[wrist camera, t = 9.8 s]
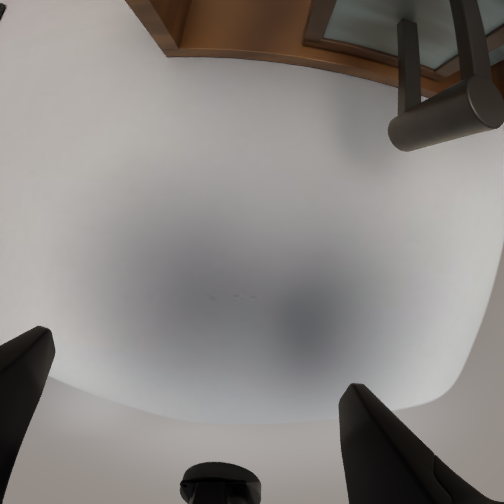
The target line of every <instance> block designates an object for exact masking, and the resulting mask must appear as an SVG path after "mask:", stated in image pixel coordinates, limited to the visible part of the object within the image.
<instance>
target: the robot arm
mask: <svg viewBox="0 0 504 504" xmlns="http://www.w3.org/2000/svg"><path fill="white" fill-rule="evenodd" d="M54 356H55V346H54V341H53V337H52V332H51V330H50V329H48V328H45V327H42V326H37V327H35V328H33V329H31V330H29V331H27V332H25V333H23V334H21V335H19V336H18V337H16V338H14V339H12V340H10V341H8V342H6V343H4V344H3V345H1V346H0V504H2V502H3V501H2V500H3V498H4V495H5V491H6V488H7V485H8V481H9V478H10V475H11V472H12V469H13V466H14V463H15V460H16V457H17V455H18V452H19V449H20V446H21V444H22V441H23V438H24V436H25V433H26V431H27V428H28V426H29V423H30V421H31V418H32V416H33V413H34V411H35V409H36V407H37V404H38V402H39V399H40V397H41V395H42V391H43V388H44V386H45V383H46V380H47V377H48V374H49V371H50V368H51V365H52V362H53V359H54ZM339 422H340V442H341V452H342V458H343V465H344V471H345V478H346V484H347V491H348V498H349V504H504V502H498V501H494V500H491V499H489V498H487V497H485V496H484V495H483V494H481V493H480V492H479V491H477V490H476V489H475V488H473V487H472V486H471V485H470V484H468V483H467V482H466V481H464V480H463V479H462V478H461V477H460V476H458V475H457V474H456V473H455V472H453V471H452V470H451V469H450V468H449V467H448V466H447V465H445V464H444V463H443V462H442V461H441V460H440V459H439V458H438V457H437V456H436V455H434V453H433V452H432V451H431V450H430V449H429V448H428V447H427V446H426V445H425V444H424V443H423V442H422V441H421V440H420V439H419V438H418V437H417V436H416V435H415V434H414V433H413V432H412V431H411V430H410V429H408V427H407V426H406V425H404V423H403V422H401V421H400V420H399V419H398V418H397V417H396V416H395V415H394V414H393V413H392V412H391V411H390V410H389V409H388V408H387V407H386V406H385V405H384V404H383V403H382V402H381V401H380V400H379V399H378V398H377V397H376V396H375V395H374V394H373V393H372V392H371V391H370V390H369V389H368V388H367V387H366V386H365V385H364V384H357V383H352V384H350V385H349V386H348V388H347V390H346V391H345V393H344V394H343V396H342V397H341V399H340V401H339ZM180 486H181V488H182V490H183V492H184V494H185V495H186V497H187V499H188V501H189V504H254V501H253V498H252V495H251V492H250V488H249V485H248V482H247V481H245V480H229V481H196V480H182V481H181V483H180Z"/></svg>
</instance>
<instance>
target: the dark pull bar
mask: <svg viewBox="0 0 504 504" xmlns="http://www.w3.org/2000/svg"><path fill="white" fill-rule="evenodd" d="M302 44H303V45H307V46H313V47H319V48H324V49H329V50H334V51H339V52H343V53H348V54H352V55H356V56H360V57H364V58H368V59H372V60H376V61H379V62H383V63H386V64H389V65H393V66H396V67H398V116H397V117H395V118H394V119H392V120H391V122H390V124H389V127H388V135H389V138H390V140H391V142H392V144H393V145H394V146H395V147H396V148H398V149H399V150H401V151H405V152H409V151H413V150H416V149H420V148H423V147H427V146H431V145H434V144H438V143H442V142H445V141H449V140H453V139H457V138H460V137H464V136H468V135H472V134H476V133H480V132H484V131H488V130H492V129H497V128H499V127H500V126H501V125H502V124H503V122H504V100H503V97H502V95H501V93H500V91H499V90H498V88H497V87H496V85H495V84H494V83H493V82H492V73H491V66H490V59H489V52H491V51H493V50H495V49H497V48H498V47H500V46H502V45H504V0H311V4H310V8H309V12H308V16H307V20H306V24H305V28H304V32H303V42H302ZM458 70H460V80H461V81H460V82H458V83H456V84H455V85H453V86H451V87H449V88H447V89H445V90H443V91H442V92H440V93H438V94H436V95H434V96H433V97H431V98H429V99H427V100H425V101H423V102H422V103H421V76H420V75H423V76H426V77H428V78H431V79H434V80H436V81H439V82H440V81H442V80H443V79H445V78H447V77H448V76H450V75H452V74H453V73H455V72H457V71H458Z"/></svg>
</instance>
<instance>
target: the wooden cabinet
mask: <svg viewBox="0 0 504 504" xmlns="http://www.w3.org/2000/svg"><path fill="white" fill-rule="evenodd" d="M125 1H126V3H127V4H128V5H129V7H130V8H131V9H132V11H133V12H134V13H135V15H136V16H137V17H138V19H139V20H140V21H141V23H142V24H143V25H144V27H145V28H146V29H147V31H148V32H149V33H150V35H151V36H152V38H153V39H154V40H155V42H156V43H157V44H158V46H159V47H160V49H162V51H163V53H164V54H165V55H166V57H225V58H241V59H253V60H263V61H272V62H280V63H288V64H295V65H301V66H308V67H313V68H319V69H324V70H330V71H334V72H339V73H344V74H348V75H353V76H357V77H361V78H365V79H369V80H373V81H377V82H380V83H384V84H388V85H391V86H394V87H398V67H396V66H393V65H389V64H386V63H383V62H379V61H376V60H372V59H368V58H364V57H360V56H356V55H352V54H348V53H343V52H339V51H334V50H329V49H324V48H319V47H313V46H307V45H303V44H302V42H303V32H304V28H305V24H306V20H307V16H308V12H309V8H310V4H311V0H125ZM489 59H490V66H491V73H492V82H493V83H494V84H495V85H496V87H497V88H498V90H499V91H500V93H501V95H502V97H503V100H504V45H502V46H500V47H498V48H497V49H495V50H493V51H491V52H489ZM420 76H421V95H423V96H425V97H428V98H431V97H433V96H434V95H436V94H438V93H440V92H442V91H443V90H445V89H447V88H449V87H451V86H453V85H455V84H456V83H458V82H460V81H461V80H460V70H458V71H457V72H455V73H453V74H452V75H450V76H448V77H447V78H445V79H443V80H442V81H440V82H439V81H436V80H434V79H431V78H428V77H426V76H423V75H420Z"/></svg>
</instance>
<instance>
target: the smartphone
mask: <svg viewBox="0 0 504 504" xmlns="http://www.w3.org/2000/svg"><path fill="white" fill-rule="evenodd" d="M4 8H5V5H4V4H2V3H0V17H1V15H2V13H3V11H4Z"/></svg>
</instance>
